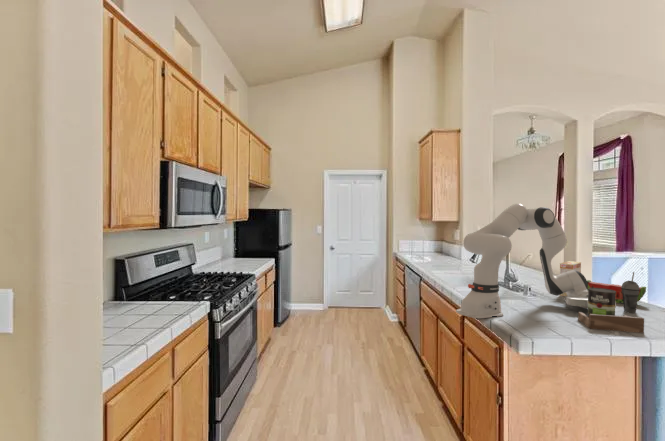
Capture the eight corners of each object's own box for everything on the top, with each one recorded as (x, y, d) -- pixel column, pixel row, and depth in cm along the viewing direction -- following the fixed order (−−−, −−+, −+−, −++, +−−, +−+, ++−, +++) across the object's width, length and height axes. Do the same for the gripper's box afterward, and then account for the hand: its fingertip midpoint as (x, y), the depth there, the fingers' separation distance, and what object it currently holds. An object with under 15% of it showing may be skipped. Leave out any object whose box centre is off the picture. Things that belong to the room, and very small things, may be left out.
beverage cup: (619, 309, 186) (620, 270, 186) (637, 311, 183) (638, 271, 182) (621, 312, 180) (622, 272, 180) (640, 314, 176) (641, 273, 176)
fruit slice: (584, 298, 210) (585, 281, 209) (587, 296, 214) (587, 279, 214) (644, 307, 191) (645, 288, 191) (645, 304, 195) (646, 286, 195)
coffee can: (613, 325, 160) (613, 293, 159) (585, 320, 167) (585, 289, 167) (617, 320, 167) (617, 289, 167) (590, 315, 174) (590, 286, 174)
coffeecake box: (567, 292, 226) (568, 260, 226) (581, 294, 221) (581, 262, 220) (558, 295, 217) (559, 262, 216) (572, 297, 211) (573, 264, 211)
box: (578, 319, 168) (578, 306, 168) (626, 323, 163) (627, 309, 163) (590, 328, 155) (590, 314, 155) (643, 333, 150) (644, 318, 150)
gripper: (561, 291, 188) (571, 297, 174) (608, 294, 182) (621, 300, 169) (561, 303, 188) (571, 310, 174) (607, 306, 182) (621, 314, 169)
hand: (596, 306), depth 172 cm, fingers closed, pressing on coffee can
